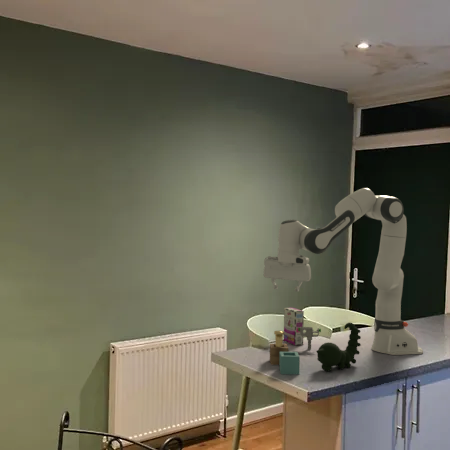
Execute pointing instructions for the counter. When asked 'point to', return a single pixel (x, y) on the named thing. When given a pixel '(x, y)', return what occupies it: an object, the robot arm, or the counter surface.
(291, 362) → the socket block
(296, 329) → the candy bar box
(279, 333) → the lock pin
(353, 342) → the toy figurine
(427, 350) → the counter surface
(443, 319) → the counter surface
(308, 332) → the mechanical component
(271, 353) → the pin mount
